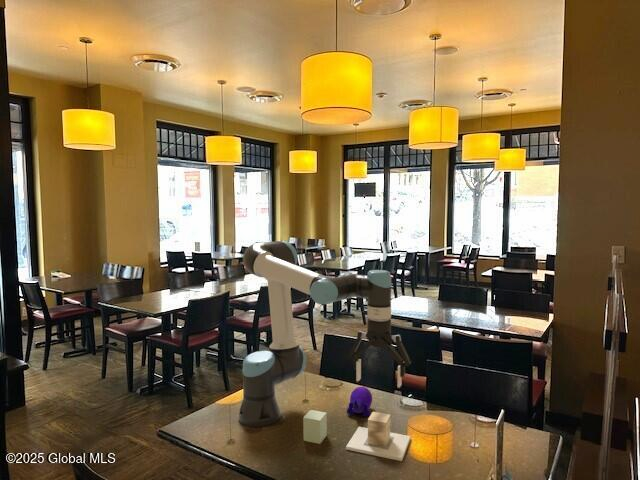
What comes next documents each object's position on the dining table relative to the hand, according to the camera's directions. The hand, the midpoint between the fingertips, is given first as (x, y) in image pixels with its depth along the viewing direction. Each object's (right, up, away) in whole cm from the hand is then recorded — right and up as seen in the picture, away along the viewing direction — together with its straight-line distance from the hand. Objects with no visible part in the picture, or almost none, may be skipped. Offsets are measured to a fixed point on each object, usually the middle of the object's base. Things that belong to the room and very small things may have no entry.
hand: (378, 382), depth 143 cm
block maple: (0, -19, +1) cm, 19 cm away
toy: (-4, -19, +24) cm, 31 cm away
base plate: (0, -21, +1) cm, 21 cm away
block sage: (-21, -20, +6) cm, 30 cm away
